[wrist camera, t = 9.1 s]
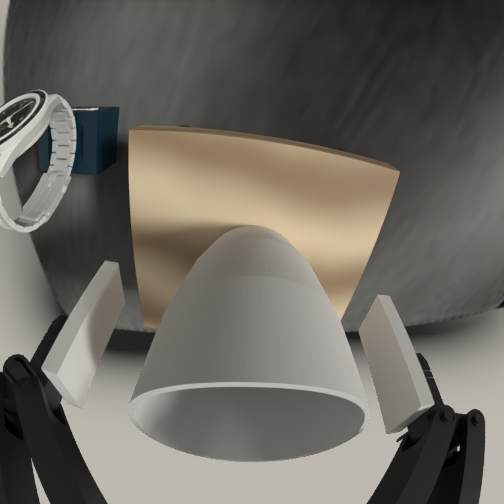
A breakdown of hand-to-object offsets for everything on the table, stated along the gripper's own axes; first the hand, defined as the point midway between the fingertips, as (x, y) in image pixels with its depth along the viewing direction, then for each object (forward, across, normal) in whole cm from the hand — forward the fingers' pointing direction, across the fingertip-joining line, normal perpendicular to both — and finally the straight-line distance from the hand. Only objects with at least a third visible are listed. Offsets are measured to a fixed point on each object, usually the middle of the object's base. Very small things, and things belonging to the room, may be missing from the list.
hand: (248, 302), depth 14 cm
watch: (+9, -14, +6) cm, 17 cm away
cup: (+3, 0, 0) cm, 3 cm away
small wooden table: (+9, 0, 0) cm, 9 cm away
